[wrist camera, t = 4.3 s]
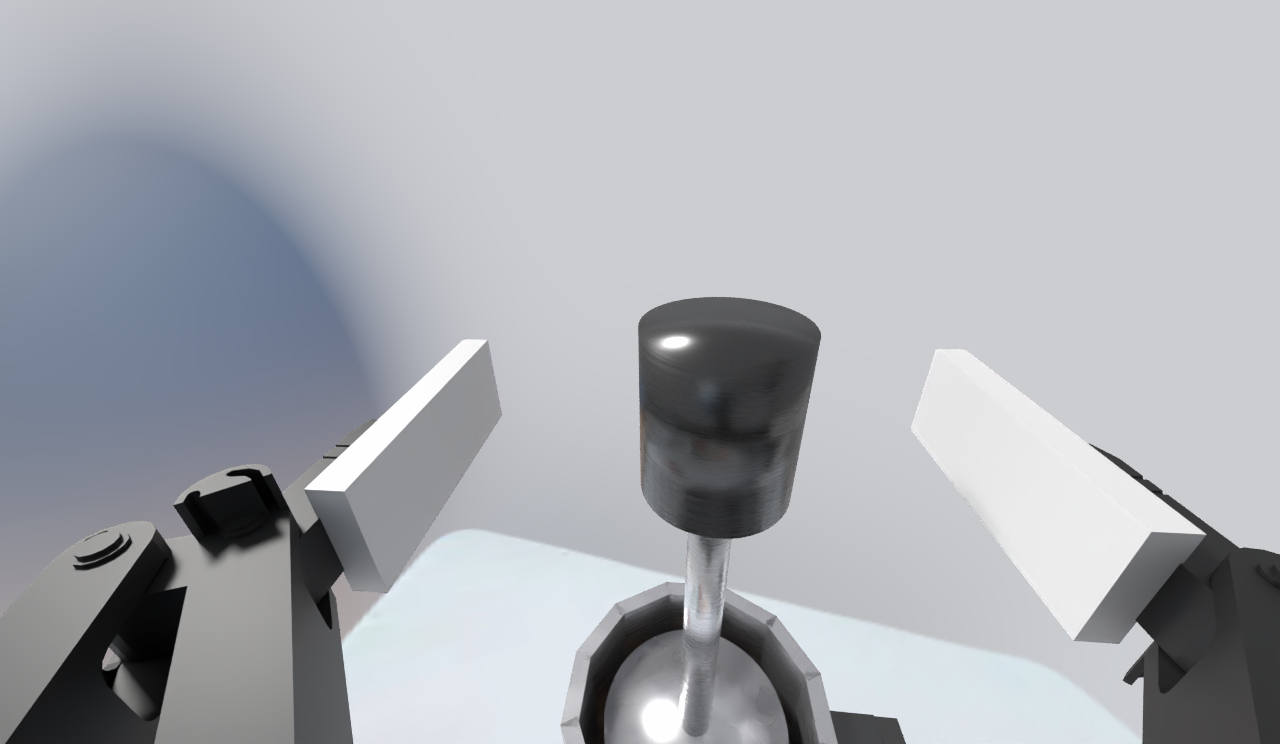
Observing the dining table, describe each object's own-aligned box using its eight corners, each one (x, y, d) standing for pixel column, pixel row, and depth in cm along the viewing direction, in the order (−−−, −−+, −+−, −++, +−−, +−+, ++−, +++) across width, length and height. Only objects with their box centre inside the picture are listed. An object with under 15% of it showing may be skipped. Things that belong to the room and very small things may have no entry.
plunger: (770, 645, 23) (844, 281, 14) (805, 865, 16) (995, 423, 7) (617, 632, 24) (596, 277, 15) (588, 838, 17) (516, 404, 8)
